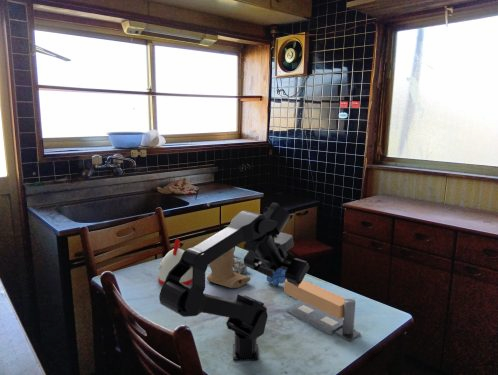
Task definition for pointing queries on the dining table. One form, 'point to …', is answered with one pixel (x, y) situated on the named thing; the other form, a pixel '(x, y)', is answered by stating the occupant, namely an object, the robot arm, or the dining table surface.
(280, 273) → the grapes
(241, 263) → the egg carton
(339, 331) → the grey flat block
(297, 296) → the orange wooden beam
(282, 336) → the dining table surface
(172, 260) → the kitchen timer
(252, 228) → the robot arm
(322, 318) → the label plate
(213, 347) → the dining table surface
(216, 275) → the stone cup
